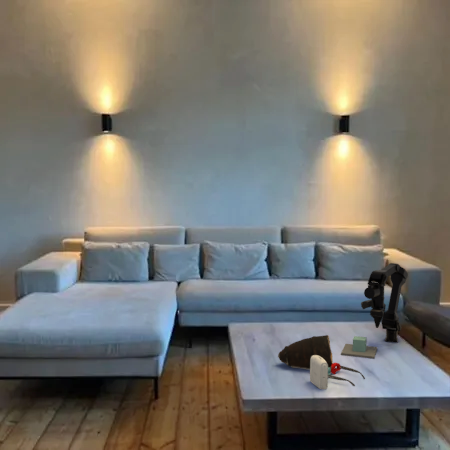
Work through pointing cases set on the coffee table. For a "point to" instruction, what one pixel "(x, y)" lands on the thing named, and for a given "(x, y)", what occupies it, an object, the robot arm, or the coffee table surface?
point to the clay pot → (306, 352)
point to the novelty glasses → (334, 370)
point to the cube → (359, 344)
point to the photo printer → (319, 372)
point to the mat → (368, 353)
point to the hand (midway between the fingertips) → (377, 325)
